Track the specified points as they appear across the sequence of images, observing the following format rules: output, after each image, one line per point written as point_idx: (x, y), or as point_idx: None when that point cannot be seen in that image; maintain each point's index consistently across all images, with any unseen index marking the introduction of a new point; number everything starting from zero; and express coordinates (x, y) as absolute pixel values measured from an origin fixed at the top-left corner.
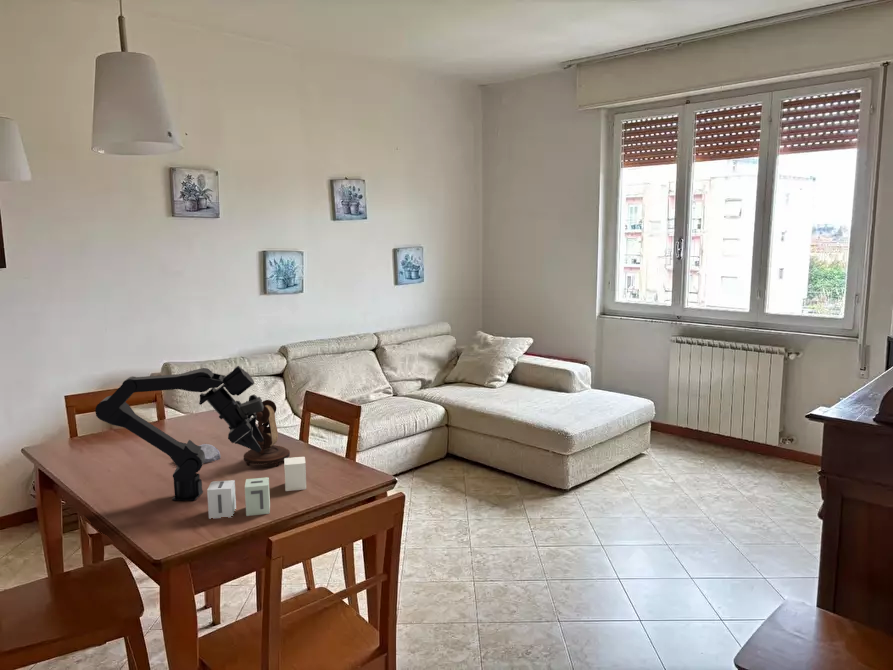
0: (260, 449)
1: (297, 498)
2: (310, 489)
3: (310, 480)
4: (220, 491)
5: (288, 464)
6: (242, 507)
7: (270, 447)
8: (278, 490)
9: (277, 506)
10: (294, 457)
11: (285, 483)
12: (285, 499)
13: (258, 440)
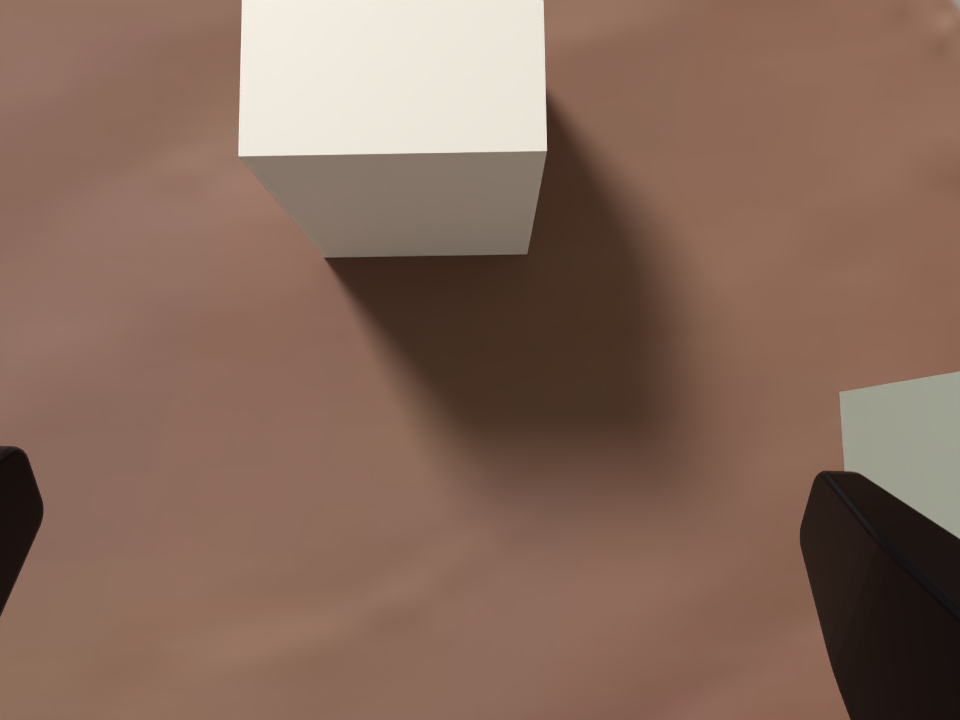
0: (876, 495)
1: (738, 143)
2: None
3: None
4: None
5: (535, 94)
6: None
7: None
8: (493, 321)
9: (895, 321)
10: (246, 12)
11: (530, 228)
12: (740, 251)
13: (6, 587)
